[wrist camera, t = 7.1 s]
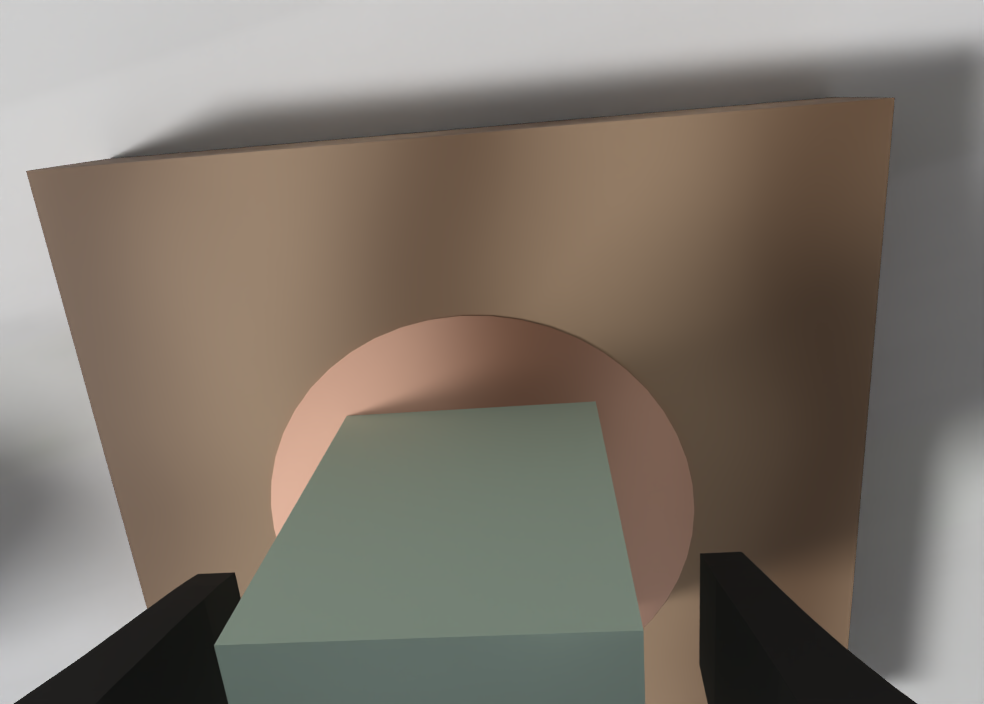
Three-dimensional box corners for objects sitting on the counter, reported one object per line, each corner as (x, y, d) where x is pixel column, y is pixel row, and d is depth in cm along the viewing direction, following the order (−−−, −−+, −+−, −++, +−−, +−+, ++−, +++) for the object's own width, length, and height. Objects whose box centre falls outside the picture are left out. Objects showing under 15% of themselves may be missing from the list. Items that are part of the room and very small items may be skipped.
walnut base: (832, 97, 14) (896, 97, 11) (796, 700, 18) (836, 792, 16) (106, 159, 15) (24, 171, 12) (240, 714, 19) (199, 803, 17)
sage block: (595, 401, 13) (643, 630, 8) (604, 612, 15) (651, 937, 9) (346, 415, 14) (214, 644, 8) (379, 620, 15) (286, 940, 9)
